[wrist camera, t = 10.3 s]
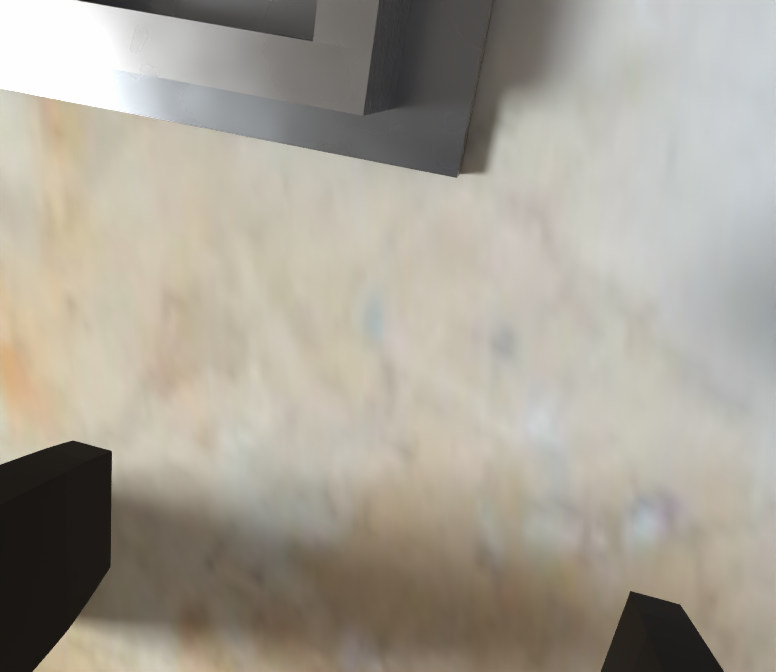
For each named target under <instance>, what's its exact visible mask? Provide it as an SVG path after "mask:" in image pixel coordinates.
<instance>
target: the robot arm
mask: <svg viewBox="0 0 776 672" xmlns="http://www.w3.org/2000/svg"><path fill="white" fill-rule="evenodd" d="M111 474H112V451H110V450H106V449H102V448H99V447H95V446H91V445H88V444H84V443H80V442H76V441H70V442H66V443H63V444H59V445H56V446H53V447H50V448H47V449H44V450H41V451H38V452H35V453H32V454H29V455H26V456H23V457H21V458H18V459H15V460H12V461H10V462H7V463H4V464H1V465H0V672H33V670H34V669H35V668H36V667H37V666H38V665H39V663H40V662H41V661H42V660H43V659H44V658H45V656H46V655H47V654H48V653H49V652H50V651H51V649H52V648H53V647H54V646H55V645H56V644H57V642H58V641H59V640H60V639H61V638H62V636H63V635H64V634H65V633H66V632H67V630H68V629H69V628H70V626H71V625H72V623H73V622H74V621H75V619H76V618H77V616H78V615H79V613H80V612H81V610H82V609H83V608H84V606H85V605H86V603H87V602H88V600H89V599H90V597H91V596H92V594H93V593H94V591H95V590H96V588H97V587H98V585H99V583H100V582H101V580H102V579H103V577H104V576H105V574H106V573H107V571H108V570H109V568H110V558H111ZM601 672H724V671H723V669H722V668H721V666H720V665H719V663H718V662H717V660H716V659H715V657H714V656H713V654H712V653H711V651H710V649H709V648H708V646H707V645H706V643H705V642H704V640H703V639H702V637H701V636H700V634H699V632H698V631H697V629H696V628H695V626H694V625H693V623H692V622H691V620H690V619H689V617H688V616H687V614H686V613H685V611H684V610H683V608H682V607H681V605H680V604H676V603H672V602H669V601H665V600H661V599H658V598H654V597H650V596H646V595H643V594H639V593H635V592H632V591H630V594H629V597H628V599H627V602H626V605H625V607H624V610H623V613H622V616H621V618H620V621H619V624H618V626H617V629H616V632H615V635H614V637H613V640H612V643H611V645H610V648H609V651H608V654H607V656H606V659H605V662H604V664H603V667H602V670H601Z"/></svg>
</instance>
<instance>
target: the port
mask: <svg viewBox="0 0 776 672" xmlns="http://www.w3.org/2000/svg"><path fill="white" fill-rule="evenodd" d="M493 1H494V0H0V88H3V89H8V90H13V91H18V92H23V93H28V94H33V95H38V96H43V97H48V98H53V99H59V100H64V101H69V102H74V103H79V104H84V105H89V106H94V107H99V108H104V109H110V110H115V111H120V112H125V113H130V114H135V115H140V116H145V117H150V118H155V119H160V120H166V121H171V122H176V123H181V124H186V125H191V126H196V127H201V128H206V129H211V130H216V131H222V132H227V133H232V134H237V135H242V136H247V137H252V138H257V139H262V140H267V141H272V142H278V143H283V144H288V145H293V146H298V147H303V148H308V149H313V150H318V151H323V152H328V153H334V154H339V155H344V156H349V157H354V158H359V159H364V160H369V161H374V162H379V163H384V164H390V165H395V166H400V167H405V168H410V169H415V170H420V171H425V172H430V173H435V174H441V175H446V176H451V177H456V178H457V177H458V176H459V175H460V170H461V165H462V159H463V154H464V149H465V144H466V139H467V134H468V129H469V124H470V119H471V113H472V108H473V103H474V98H475V93H476V88H477V83H478V78H479V73H480V67H481V62H482V57H483V52H484V47H485V42H486V37H487V32H488V26H489V21H490V16H491V11H492V6H493Z"/></svg>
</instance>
